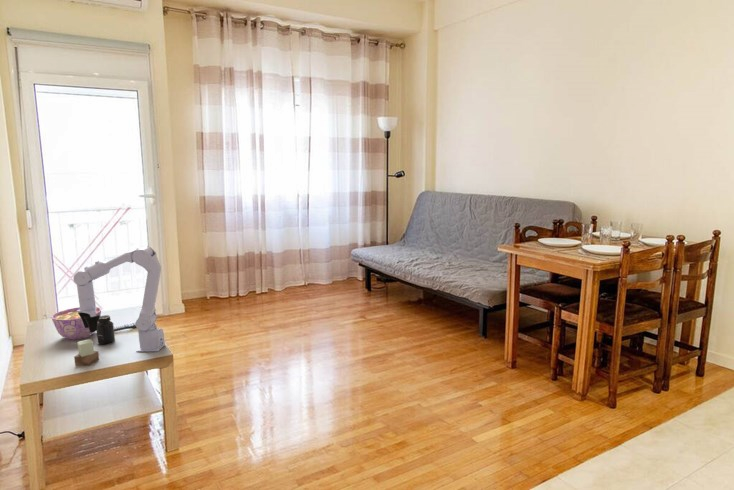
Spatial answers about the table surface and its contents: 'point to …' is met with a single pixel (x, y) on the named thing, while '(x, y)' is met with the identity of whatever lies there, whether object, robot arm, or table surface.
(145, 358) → the table surface
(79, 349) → the sage block
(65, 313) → the bowl of food
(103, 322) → the supplement bottle
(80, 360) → the walnut block
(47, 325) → the table surface
